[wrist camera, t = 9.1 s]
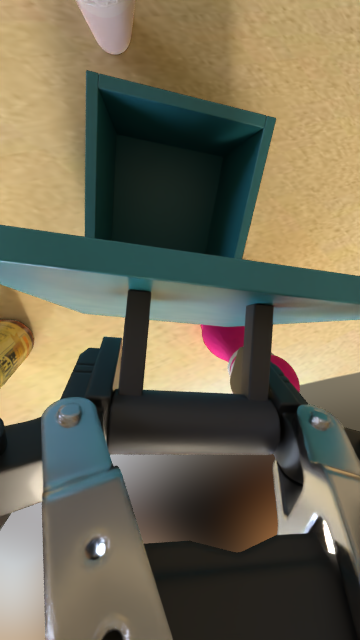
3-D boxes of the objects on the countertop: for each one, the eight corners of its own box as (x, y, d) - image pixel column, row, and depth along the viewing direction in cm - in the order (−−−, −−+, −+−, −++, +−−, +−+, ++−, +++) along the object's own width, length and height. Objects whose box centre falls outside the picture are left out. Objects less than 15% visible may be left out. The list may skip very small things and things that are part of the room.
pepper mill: (187, 314, 37) (226, 414, 19) (229, 287, 36) (313, 364, 18) (211, 348, 40) (265, 464, 21) (250, 324, 39) (341, 423, 21)
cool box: (110, 126, 27) (85, 69, 16) (229, 152, 29) (276, 117, 18) (104, 276, 33) (84, 307, 22) (203, 287, 36) (227, 321, 25)
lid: (-97, 210, 5) (-144, 500, 5) (446, 287, 7) (443, 486, 7) (83, 304, 22) (76, 367, 22) (228, 318, 24) (224, 376, 24)
